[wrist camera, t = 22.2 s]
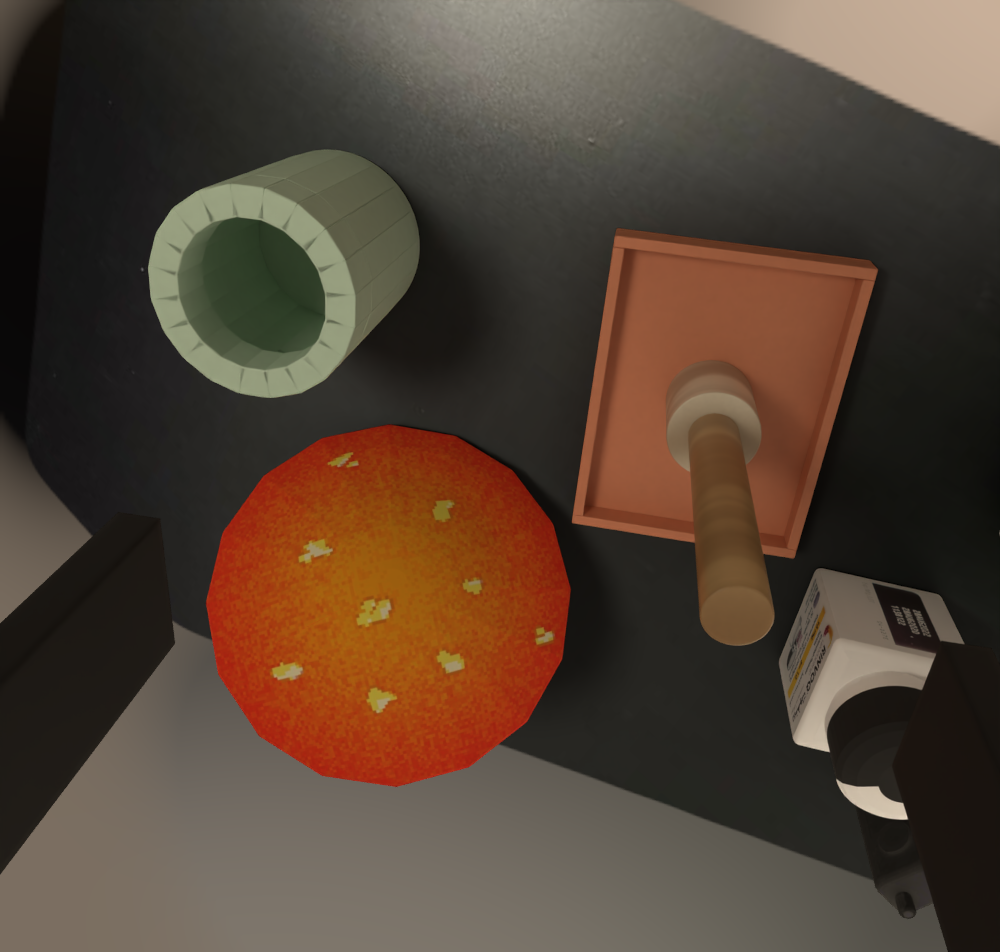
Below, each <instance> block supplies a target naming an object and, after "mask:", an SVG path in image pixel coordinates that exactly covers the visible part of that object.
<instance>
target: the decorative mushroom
mask: <svg viewBox="0 0 1000 952" xmlns="http://www.w3.org/2000/svg"><path fill="white" fill-rule="evenodd" d="M570 592H571V588H570V585H569V581H568V577H567V574H566V570H565V566H564V562H563V559H562V555H561V551H560V548H559V544H558V540H557V537H556V533H555V529H554V526H553V523H552V522H551V520H550V519H549V518H548V516H547V515H546V514H545V512H544V511H543V510H542V509H541V507H540V506H539V505H538V503H537V502H536V501H535V499H534V498H533V497H532V495H531V494H530V493H529V491H528V490H527V489H526V487H525V486H524V485H523V483H522V482H521V481H520V479H519V478H518V477H517V475H516V474H515V473H514V472H513V470H511V469H510V468H508V467H506V466H505V465H503V464H501V463H500V462H498V461H496V460H495V459H493V458H491V457H490V456H488V455H486V454H485V453H483V452H482V451H480V450H478V449H477V448H475V447H473V446H472V445H470V444H468V443H467V442H465V441H463V440H462V439H460V438H458V437H457V436H454V435H448V434H442V433H437V432H431V431H425V430H419V429H413V428H408V427H402V426H396V425H390V424H389V425H384V426H379V427H374V428H369V429H364V430H359V431H354V432H349V433H344V434H339V435H334V436H329V437H324V438H321V439H320V440H318V441H317V442H315V443H314V444H312V445H311V446H309V447H307V448H306V449H304V450H303V451H301V452H300V453H298V454H297V455H295V456H293V457H292V458H290V459H289V460H287V461H286V462H284V463H282V464H281V465H279V466H278V467H276V468H275V469H273V470H272V471H270V472H268V473H267V474H265V475H264V476H263V477H262V479H261V480H260V482H259V483H258V484H257V486H256V487H255V489H254V490H253V491H252V493H251V494H250V496H249V497H248V498H247V500H246V501H245V503H244V504H243V505H242V507H241V508H240V509H239V511H238V512H237V514H236V515H235V516H234V518H233V519H232V521H231V522H230V523H229V525H228V526H227V528H226V529H225V530H224V532H223V534H222V538H221V542H220V546H219V551H218V555H217V559H216V563H215V567H214V572H213V576H212V580H211V584H210V588H209V592H208V597H207V601H206V605H207V611H208V617H209V623H210V629H211V634H212V640H213V646H214V652H215V658H216V663H217V669H218V674H219V676H220V678H221V679H222V681H223V682H224V684H225V685H226V687H227V688H228V690H229V691H230V693H231V694H232V696H233V697H234V699H235V700H236V702H237V703H238V705H239V706H240V708H241V709H242V711H243V712H244V714H245V715H246V717H247V718H248V720H249V721H250V723H251V724H252V726H253V728H254V729H255V731H256V732H257V734H258V735H259V736H260V737H261V738H263V739H265V740H266V741H268V742H269V743H271V744H273V745H274V746H276V747H277V748H279V749H280V750H282V751H284V752H285V753H287V754H289V755H290V756H292V757H293V758H295V759H296V760H298V761H299V762H301V763H303V764H304V765H306V766H307V767H309V768H311V769H312V770H314V771H315V772H317V773H319V774H320V775H322V776H326V777H333V778H340V779H347V780H353V781H361V782H367V783H375V784H381V785H388V786H395V787H397V786H401V785H405V784H409V783H412V782H416V781H420V780H423V779H427V778H431V777H435V776H438V775H442V774H446V773H449V772H453V771H457V770H461V769H464V768H468V767H470V766H471V765H472V764H474V763H475V762H476V761H477V760H479V759H480V758H481V757H483V756H484V755H485V754H486V753H488V752H489V751H490V750H491V749H493V748H494V747H495V746H497V745H498V744H499V743H500V742H502V741H503V740H504V739H506V738H507V737H508V736H509V735H511V734H512V733H513V732H514V731H516V730H517V729H518V728H520V727H521V726H522V725H523V724H525V723H526V722H527V721H528V719H529V717H530V715H531V714H532V712H533V710H534V708H535V707H536V705H537V703H538V701H539V699H540V698H541V696H542V694H543V692H544V691H545V689H546V687H547V685H548V683H549V682H550V680H551V678H552V676H553V674H554V673H555V671H556V669H557V667H558V666H559V664H560V662H561V660H562V657H563V649H564V641H565V633H566V625H567V616H568V608H569V600H570Z"/></svg>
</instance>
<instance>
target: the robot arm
mask: <svg viewBox="0 0 1000 952" xmlns="http://www.w3.org/2000/svg"><path fill="white" fill-rule="evenodd" d="M174 644H175V640H174V632H173V623H172V615H171V606H170V598H169V590H168V581H167V573H166V565H165V556H164V548H163V540H162V532H161V523H160V519H159V518H152V517H146V516H140V515H133V514H127V513H120V512H118V513H117V514H116V515H115V516H114V517H113V518H112V519H111V520H110V521H109V522H107V523H106V524H105V525H104V526H103V527H102V528H101V529H100V530H99V531H98V532H97V533H96V534H95V535H94V536H93V537H92V538H91V539H89V540H88V541H87V542H86V543H85V544H84V545H83V546H82V547H81V548H80V549H79V550H78V551H77V552H76V553H75V554H74V555H72V556H71V557H70V558H69V559H68V560H67V561H66V562H65V563H64V564H63V565H62V566H61V567H60V568H59V569H58V570H56V571H55V572H54V573H53V574H52V575H51V576H50V577H49V578H48V579H47V580H46V581H45V582H44V583H43V584H42V585H41V586H39V587H38V588H37V589H36V590H35V591H34V592H33V593H32V594H31V595H30V596H29V597H28V598H27V599H26V600H25V601H24V602H23V603H21V604H20V605H19V606H18V607H17V608H16V609H15V610H14V611H13V612H12V613H11V614H10V615H9V616H8V617H7V618H5V619H4V620H3V621H2V622H1V623H0V874H1V873H2V871H3V870H4V869H5V867H6V866H7V865H8V863H9V862H10V861H11V859H12V858H13V857H14V856H15V854H16V853H17V851H18V850H19V849H20V848H21V846H22V845H23V844H24V842H25V841H26V840H27V838H28V837H29V836H30V834H31V833H32V832H33V830H34V829H35V827H36V826H37V825H38V824H39V822H40V821H41V820H42V818H43V817H44V816H45V815H46V813H47V812H48V810H49V809H50V808H51V806H52V805H53V804H54V803H55V801H56V800H57V799H58V797H59V796H60V795H61V793H62V792H63V791H64V789H65V788H66V787H67V785H68V784H69V783H70V781H71V780H72V779H73V777H74V776H75V775H76V773H77V772H78V771H79V770H80V768H81V767H82V766H83V764H84V763H85V762H86V760H87V759H88V758H89V756H90V755H91V754H92V752H93V751H94V750H95V748H96V747H97V746H98V745H99V743H100V742H101V741H102V739H103V738H104V737H105V735H106V734H107V733H108V731H109V730H110V729H111V727H112V726H113V725H114V723H115V722H116V721H117V719H118V718H119V717H120V715H121V714H122V713H123V711H124V710H125V709H126V707H127V706H128V705H129V704H130V702H131V701H132V700H133V698H134V697H135V696H136V694H137V693H138V692H139V690H140V689H141V688H142V686H143V685H144V684H145V682H146V681H147V680H148V678H149V677H150V676H151V675H152V673H153V672H154V671H155V669H156V668H157V667H158V665H159V664H160V663H161V661H162V660H163V659H164V657H165V656H166V655H167V653H168V652H169V651H170V649H171V648H172V647H173V645H174ZM892 768H893V772H894V775H895V778H896V782H897V785H898V788H899V791H900V795H901V798H902V801H903V805H904V808H905V811H906V815H907V818H908V821H909V825H910V828H911V831H912V834H913V838H914V841H915V844H916V848H917V851H918V854H919V858H920V861H921V864H922V867H923V871H924V874H925V877H926V881H927V884H928V887H929V891H930V894H931V897H932V900H933V904H934V907H935V910H936V914H937V917H938V920H939V923H940V927H941V930H942V933H943V937H944V940H945V943H946V946H947V950H948V952H1000V664H999V662H998V660H997V658H996V656H995V654H994V652H993V650H992V648H986V647H979V646H973V645H966V644H960V643H954V642H947V641H941V643H940V645H939V648H938V650H937V653H936V655H935V658H934V661H933V663H932V666H931V668H930V671H929V673H928V676H927V678H926V681H925V683H924V686H923V688H922V691H921V693H920V696H919V698H918V701H917V703H916V706H915V708H914V711H913V713H912V716H911V718H910V721H909V723H908V726H907V728H906V731H905V734H904V736H903V739H902V741H901V744H900V746H899V749H898V751H897V754H896V756H895V759H894V761H893V764H892Z"/></svg>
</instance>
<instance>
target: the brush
mask: <svg viewBox="0 0 1000 952" xmlns="http://www.w3.org/2000/svg"><path fill="white" fill-rule="evenodd" d="M761 437H762V430H761V424H760V420H759V416H758V412H757V408H756V404H755V400H754V396H753V392H752V388H751V385H750V383H749V381H748V379H747V378H746V376H745V375H744V374H743V373H742V372H741V371H740V370H739V369H737V368H736V367H734V366H733V365H731V364H728V363H726V362H722V361H716V360H706V361H700V362H696V363H694V364H691V365H689V366H687V367H686V368H684V369H683V370H681V371H680V372H679V373H678V374H677V375H676V376H675V377H674V379H673V380H672V382H671V383H670V385H669V388H668V390H667V394H666V440H667V445H668V448H669V451H670V453H671V455H672V457H673V458H674V460H675V461H676V462H677V463H678V464H679V465H680V466H681V467H683V468H684V469H686V470H687V471H689V472H690V477H691V491H692V506H693V521H694V536H695V551H696V566H697V581H698V596H699V611H700V621H701V624H702V626H703V628H704V630H705V631H706V632H707V633H708V634H709V635H710V636H711V637H712V638H713V639H715V640H717V641H719V642H721V643H724V644H728V645H747V644H750V643H753V642H756V641H758V640H759V639H761V638H762V637H764V636H765V635H766V634H767V633H768V631H769V630H770V628H771V627H772V624H773V622H774V608H773V603H772V597H771V592H770V587H769V582H768V577H767V572H766V566H765V561H764V556H763V551H762V546H761V541H760V536H759V530H758V525H757V520H756V515H755V510H754V505H753V499H752V494H751V489H750V484H749V479H748V474H747V469H746V464H748V463H749V462H750V461H751V459H752V458H753V457H754V456H755V454H756V452H757V450H758V448H759V446H760V443H761Z"/></svg>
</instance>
